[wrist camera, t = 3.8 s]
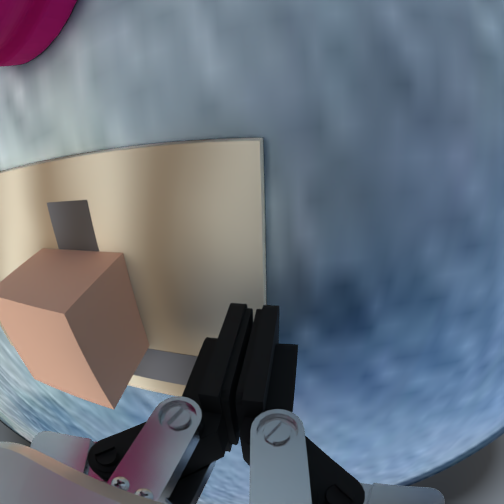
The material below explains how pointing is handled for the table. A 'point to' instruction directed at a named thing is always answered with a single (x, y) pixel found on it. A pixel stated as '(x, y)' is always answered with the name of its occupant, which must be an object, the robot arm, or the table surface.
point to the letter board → (153, 234)
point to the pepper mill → (30, 27)
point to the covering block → (75, 322)
